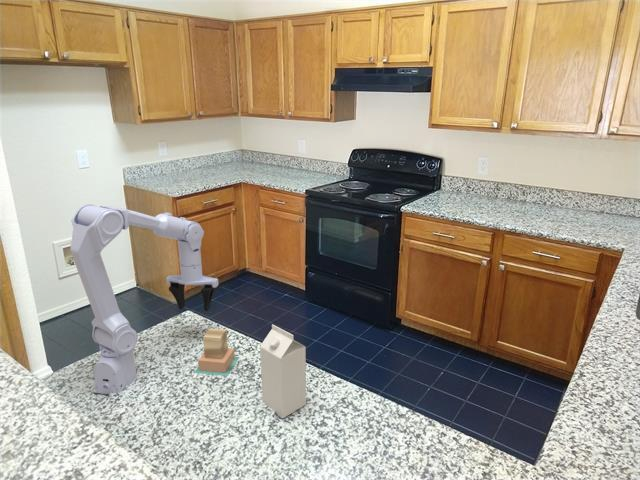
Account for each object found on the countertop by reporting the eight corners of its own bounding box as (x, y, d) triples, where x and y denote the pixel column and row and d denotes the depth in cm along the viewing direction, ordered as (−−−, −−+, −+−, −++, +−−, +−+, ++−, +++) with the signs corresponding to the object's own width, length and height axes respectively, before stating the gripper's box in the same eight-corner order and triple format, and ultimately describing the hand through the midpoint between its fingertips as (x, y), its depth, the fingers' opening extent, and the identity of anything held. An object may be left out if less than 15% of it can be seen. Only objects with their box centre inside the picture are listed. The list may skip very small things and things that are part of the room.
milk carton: (286, 391, 108) (284, 319, 103) (306, 405, 103) (305, 329, 98) (262, 404, 103) (259, 329, 98) (282, 419, 98) (280, 341, 93)
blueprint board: (229, 385, 110) (229, 382, 110) (183, 380, 112) (183, 377, 112) (248, 355, 124) (248, 352, 123) (206, 351, 126) (206, 348, 125)
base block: (225, 373, 114) (224, 362, 113) (198, 370, 115) (197, 360, 114) (234, 358, 120) (234, 348, 120) (209, 356, 122) (209, 346, 121)
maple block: (221, 359, 114) (220, 338, 113) (204, 357, 115) (203, 336, 114) (228, 350, 119) (226, 329, 117) (211, 348, 119) (210, 328, 118)
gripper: (221, 260, 127) (224, 304, 131) (173, 257, 129) (177, 301, 133) (211, 268, 120) (214, 315, 124) (160, 265, 123) (165, 311, 126)
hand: (194, 308), depth 128 cm, fingers open, 7 cm apart
